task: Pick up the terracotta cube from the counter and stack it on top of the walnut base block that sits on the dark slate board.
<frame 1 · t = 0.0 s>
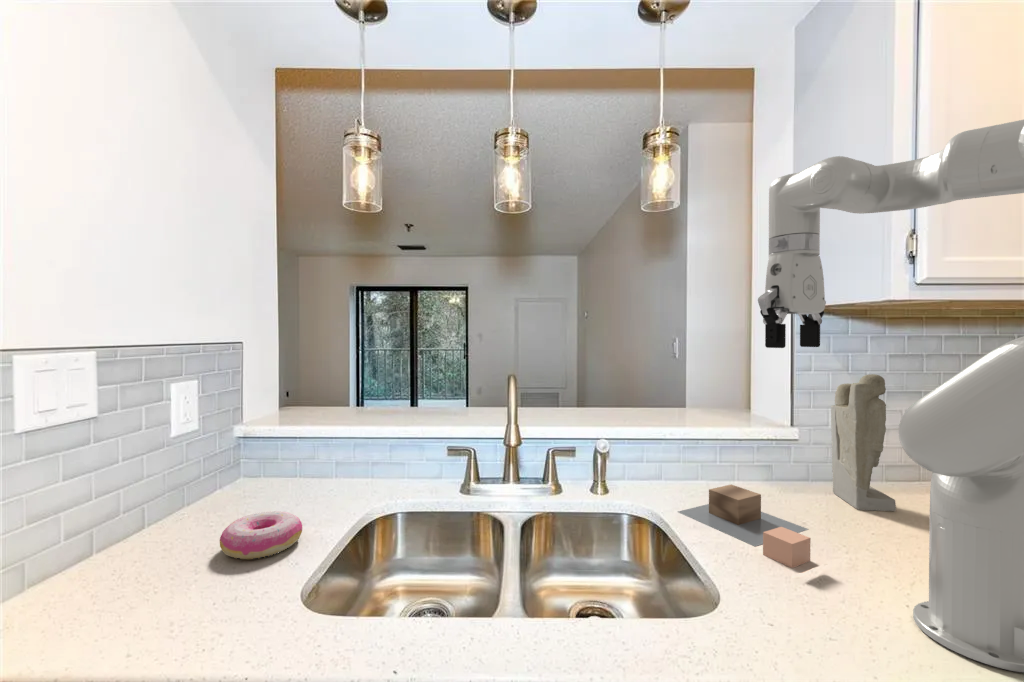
hand: (793, 347, 79), 37 cm above the worktop, tool pointing down, fingers open, 9 cm apart
sculpture: (863, 503, 105), on the worktop
slate board: (739, 524, 93), on the worktop
donut: (262, 548, 84), on the worktop
terracotta cube: (786, 564, 77), on the worktop
walnut base: (734, 515, 95), point 1 cm above the worktop, touching slate board
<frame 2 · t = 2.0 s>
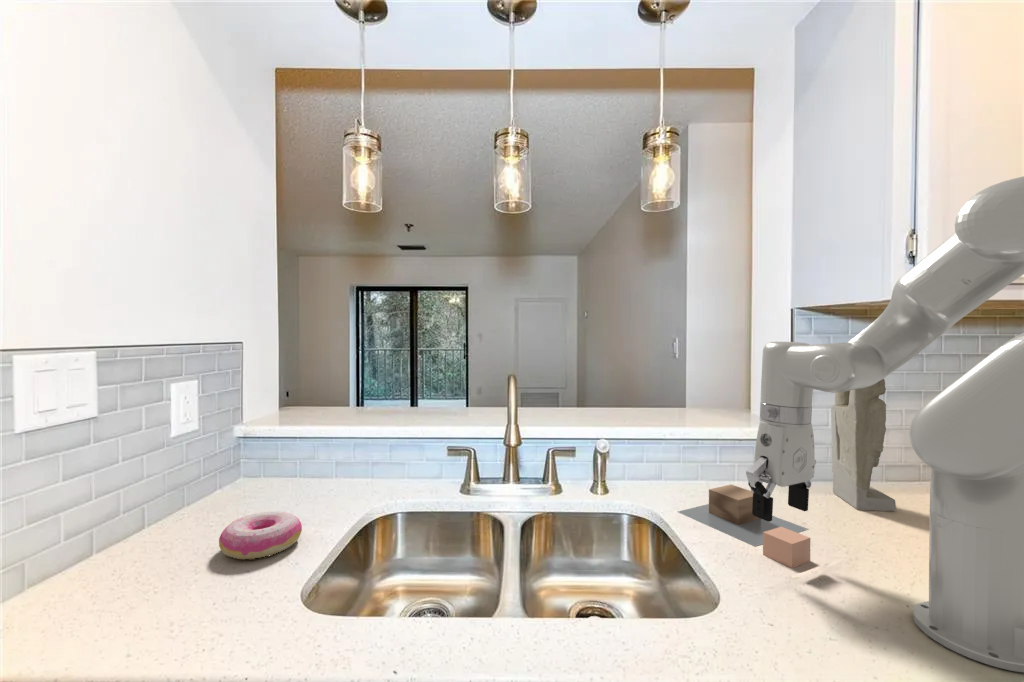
hand: (780, 513, 78), 8 cm above the worktop, tool pointing down, fingers open, 9 cm apart
nothing on the worktop moved.
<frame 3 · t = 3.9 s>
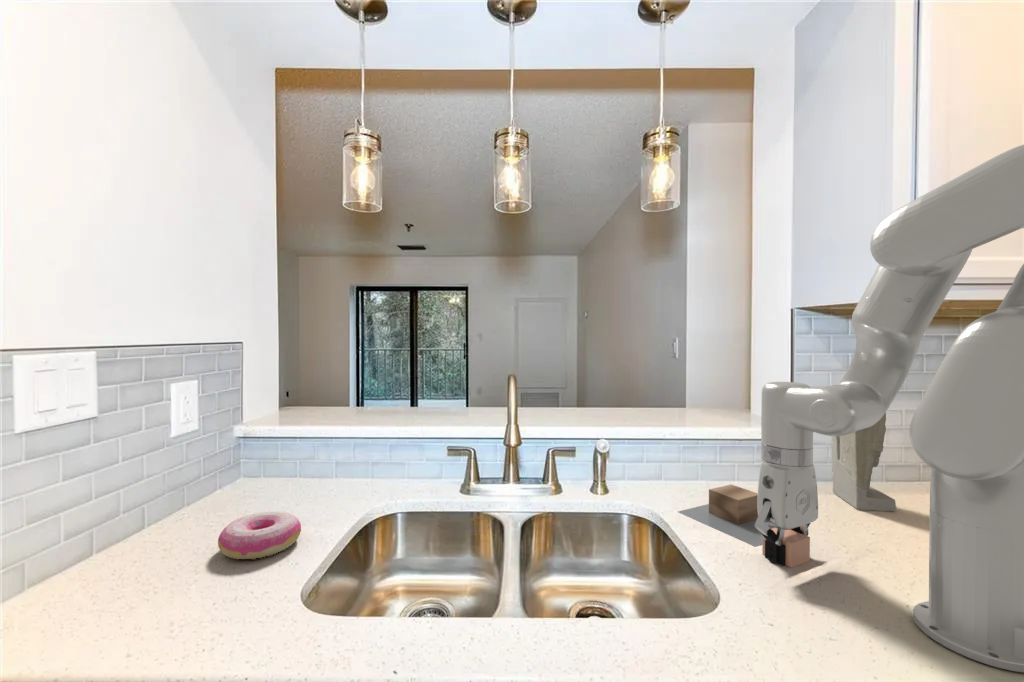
hand: (785, 560, 77), 0 cm above the worktop, tool pointing down, fingers closed on terracotta cube, 5 cm apart
terracotta cube: (785, 563, 77), on the worktop, touching gripper
everything else where it was.
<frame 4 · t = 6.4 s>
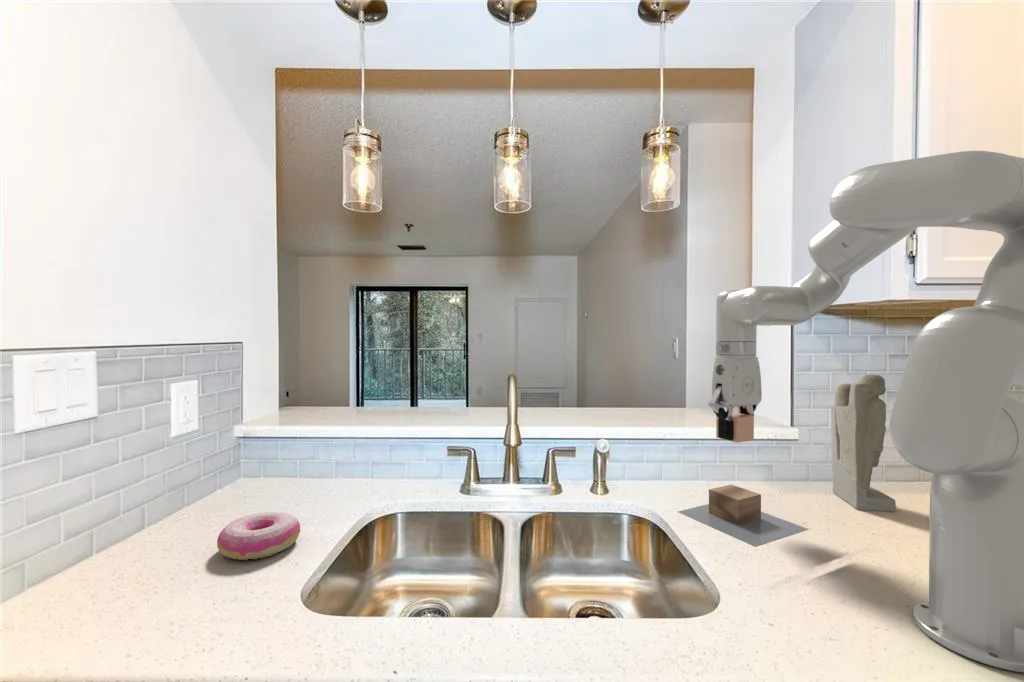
hand: (735, 436, 95), 18 cm above the worktop, tool pointing down, fingers closed on terracotta cube, 5 cm apart
terracotta cube: (734, 438, 95), point 17 cm above the worktop, touching gripper
everything else where it was.
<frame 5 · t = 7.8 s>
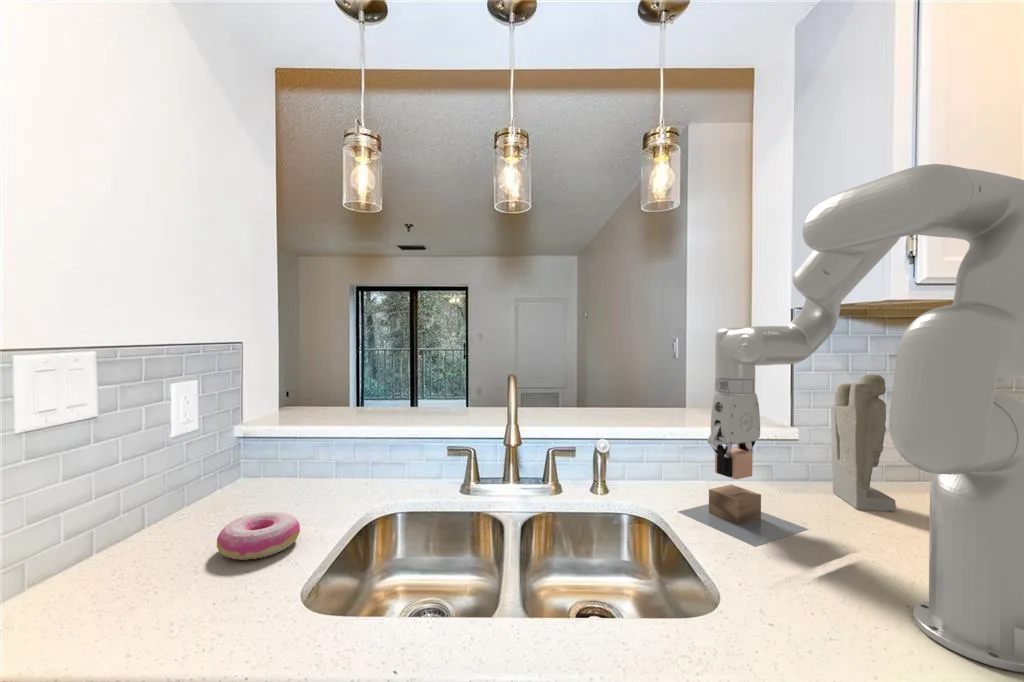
hand: (733, 472, 95), 10 cm above the worktop, tool pointing down, fingers closed on terracotta cube, 5 cm apart
terracotta cube: (733, 474, 95), point 10 cm above the worktop, touching gripper
everything else where it was.
when the fingers open (7 cm above the worktop, at t = 9.1 s): terracotta cube stays where it is, resting on walnut base.
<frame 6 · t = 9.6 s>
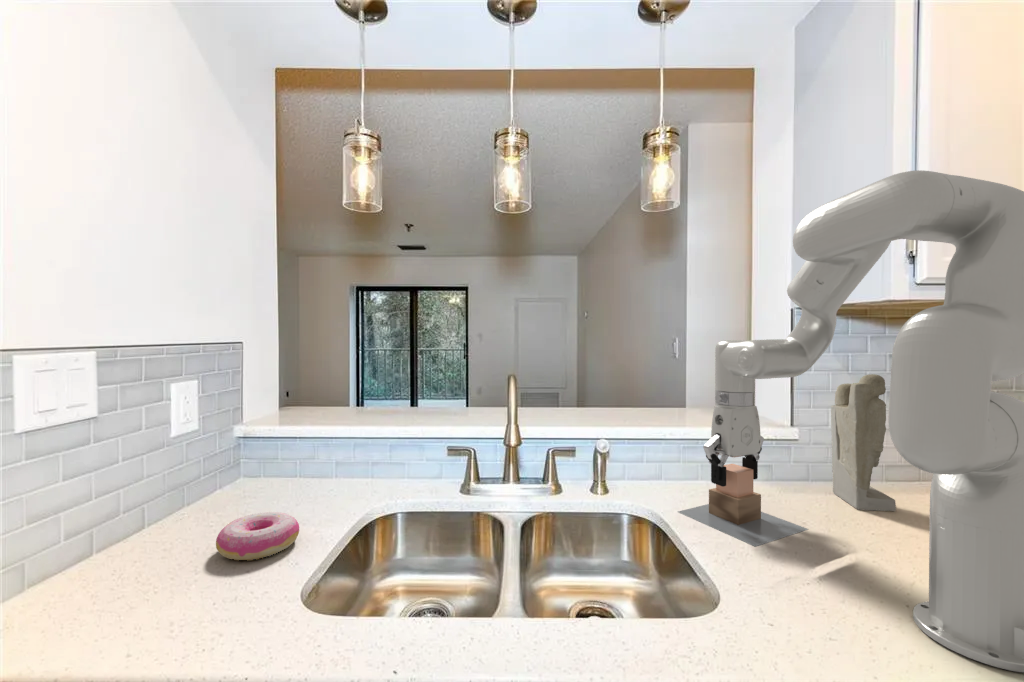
hand: (734, 480, 95), 8 cm above the worktop, tool pointing down, fingers open, 9 cm apart
terracotta cube: (734, 491, 95), point 6 cm above the worktop, touching walnut base
walnut base: (734, 515, 95), point 1 cm above the worktop, touching slate board, terracotta cube
everything else where it was.
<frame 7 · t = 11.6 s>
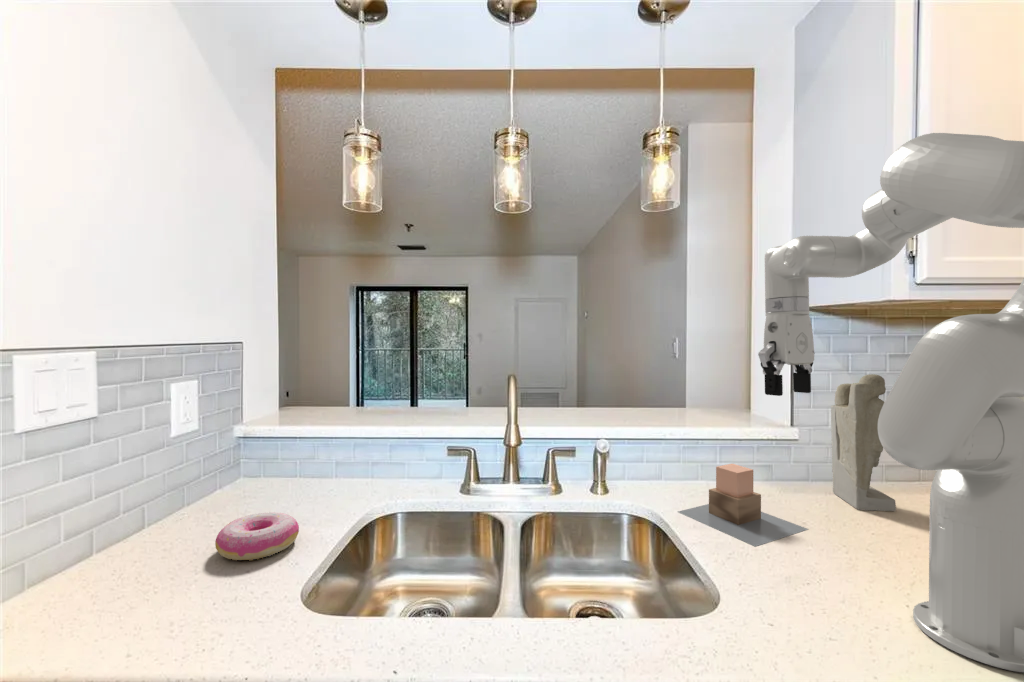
hand: (788, 393, 91), 27 cm above the worktop, tool pointing down, fingers open, 9 cm apart
nothing on the worktop moved.
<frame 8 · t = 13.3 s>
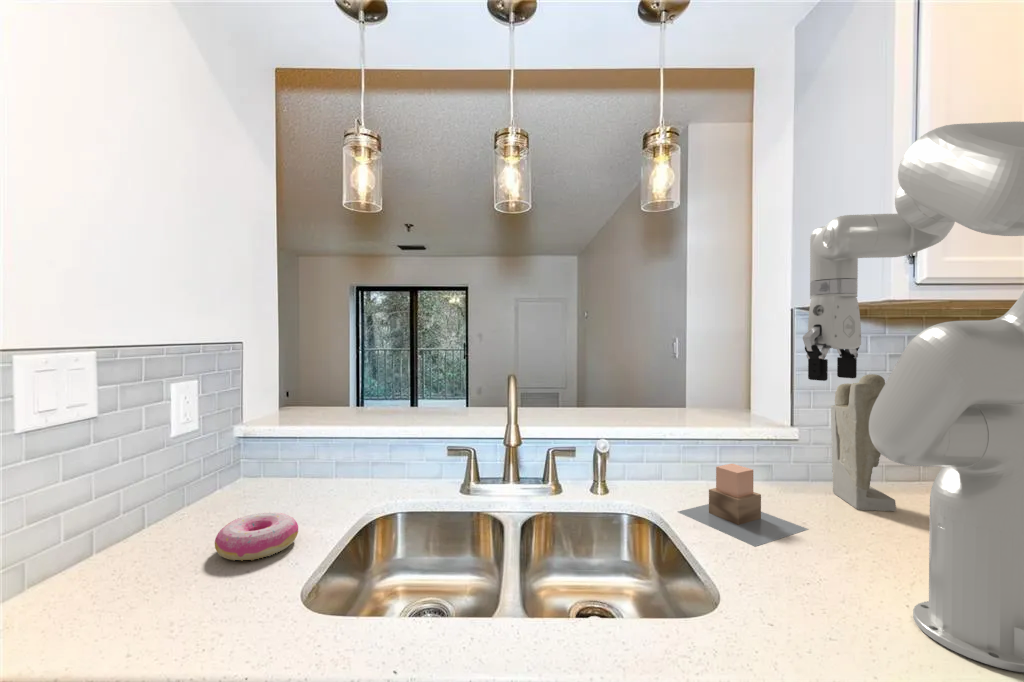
hand: (832, 378, 88), 30 cm above the worktop, tool pointing down, fingers open, 9 cm apart
nothing on the worktop moved.
at the end: terracotta cube 0.0 cm off-centre on the walnut base, point 5.0 cm above the walnut base's base; terracotta cube tilted 0°; walnut base moved 0.0 cm from its start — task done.
